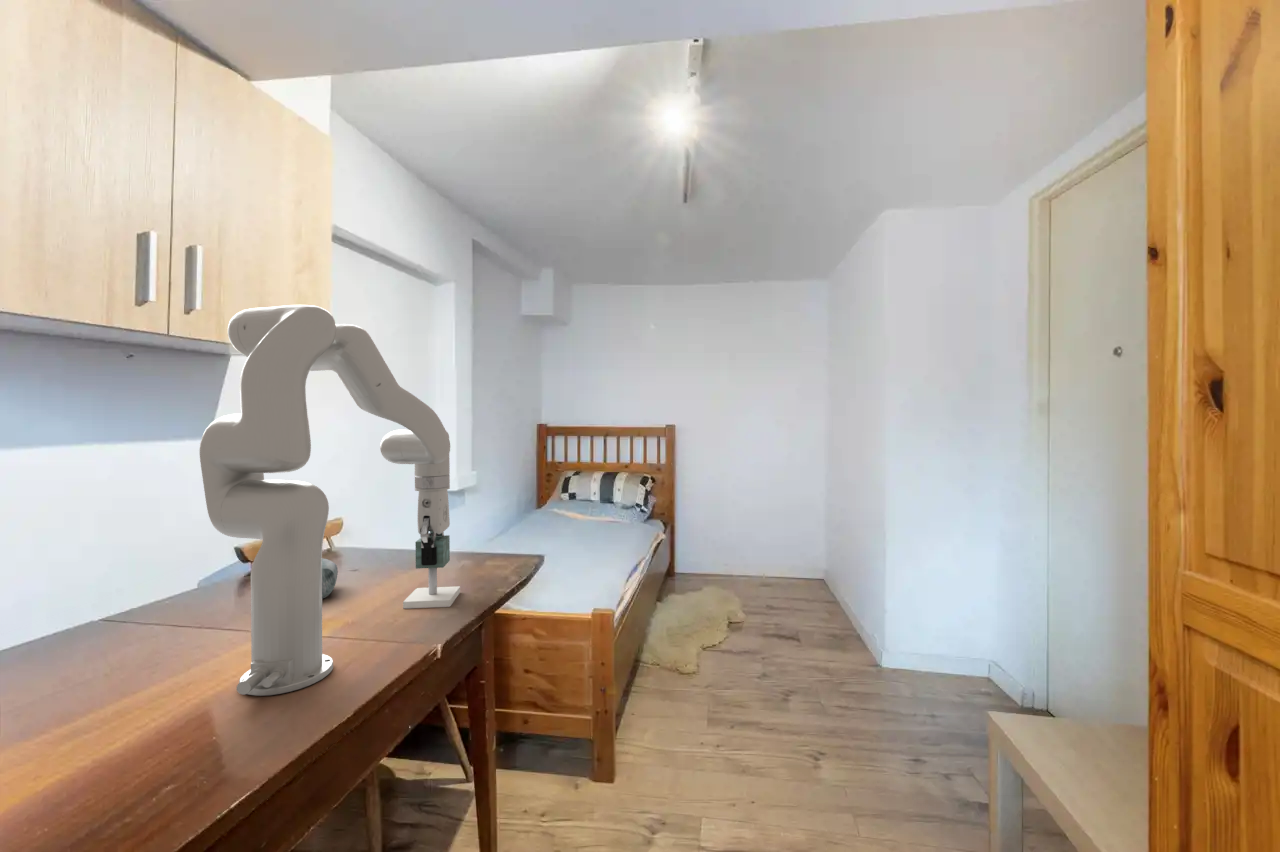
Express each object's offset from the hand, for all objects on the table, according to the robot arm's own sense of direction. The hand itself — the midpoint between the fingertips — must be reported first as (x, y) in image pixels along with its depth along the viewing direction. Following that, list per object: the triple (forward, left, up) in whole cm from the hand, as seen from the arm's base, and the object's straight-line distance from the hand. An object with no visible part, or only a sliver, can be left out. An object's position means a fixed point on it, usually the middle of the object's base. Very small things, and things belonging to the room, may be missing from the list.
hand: (433, 560), depth 123 cm
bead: (0, 0, -1) cm, 1 cm away
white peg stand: (0, 0, -9) cm, 9 cm away
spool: (+8, +29, -9) cm, 32 cm away
